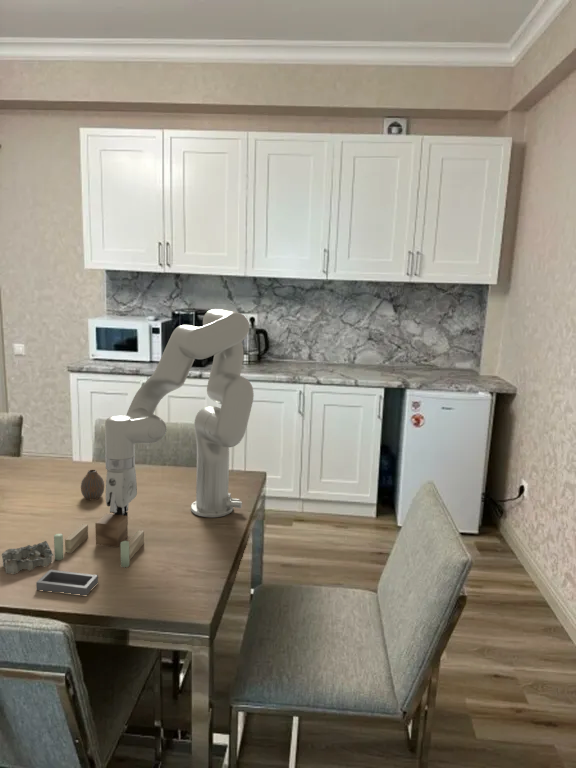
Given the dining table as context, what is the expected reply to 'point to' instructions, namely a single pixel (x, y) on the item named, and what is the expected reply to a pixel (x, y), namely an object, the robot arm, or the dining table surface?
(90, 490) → the vase
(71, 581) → the tray
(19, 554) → the grey jagged open ring
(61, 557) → the goal posts
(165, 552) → the dining table surface
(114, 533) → the walnut block
